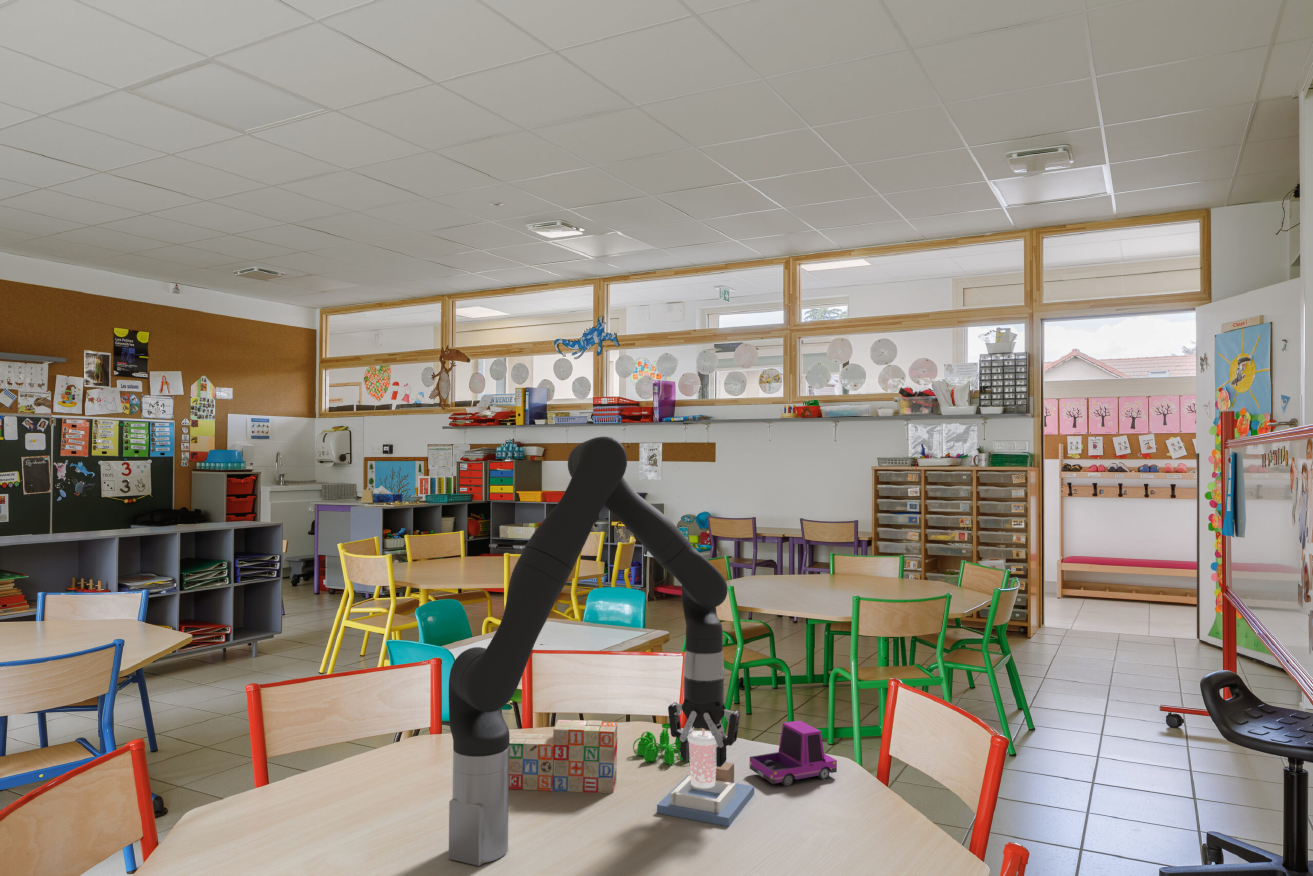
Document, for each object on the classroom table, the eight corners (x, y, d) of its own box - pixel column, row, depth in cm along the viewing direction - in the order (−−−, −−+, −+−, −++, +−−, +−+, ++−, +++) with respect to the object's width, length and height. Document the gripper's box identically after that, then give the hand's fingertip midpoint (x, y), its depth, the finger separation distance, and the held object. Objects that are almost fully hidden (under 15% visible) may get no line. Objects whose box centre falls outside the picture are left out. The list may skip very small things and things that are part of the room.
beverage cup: (706, 793, 154) (706, 716, 154) (680, 784, 158) (680, 709, 158) (725, 783, 159) (726, 708, 159) (700, 775, 163) (700, 702, 163)
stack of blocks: (506, 790, 166) (507, 727, 166) (513, 778, 172) (514, 718, 172) (614, 793, 164) (614, 730, 165) (617, 781, 171) (617, 720, 171)
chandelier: (618, 757, 185) (619, 725, 185) (662, 740, 196) (662, 710, 197) (671, 774, 175) (672, 740, 175) (714, 755, 187) (714, 724, 187)
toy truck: (839, 780, 172) (839, 731, 173) (775, 792, 166) (775, 741, 166) (809, 762, 182) (809, 716, 182) (747, 773, 176) (747, 725, 176)
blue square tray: (728, 826, 150) (729, 795, 150) (656, 813, 155) (657, 783, 155) (754, 794, 164) (754, 765, 165) (687, 782, 170) (687, 755, 170)
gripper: (661, 674, 158) (660, 764, 158) (734, 682, 152) (733, 776, 152) (675, 665, 165) (675, 751, 165) (746, 673, 159) (745, 762, 159)
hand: (703, 762), depth 158 cm, fingers closed on beverage cup, 6 cm apart
